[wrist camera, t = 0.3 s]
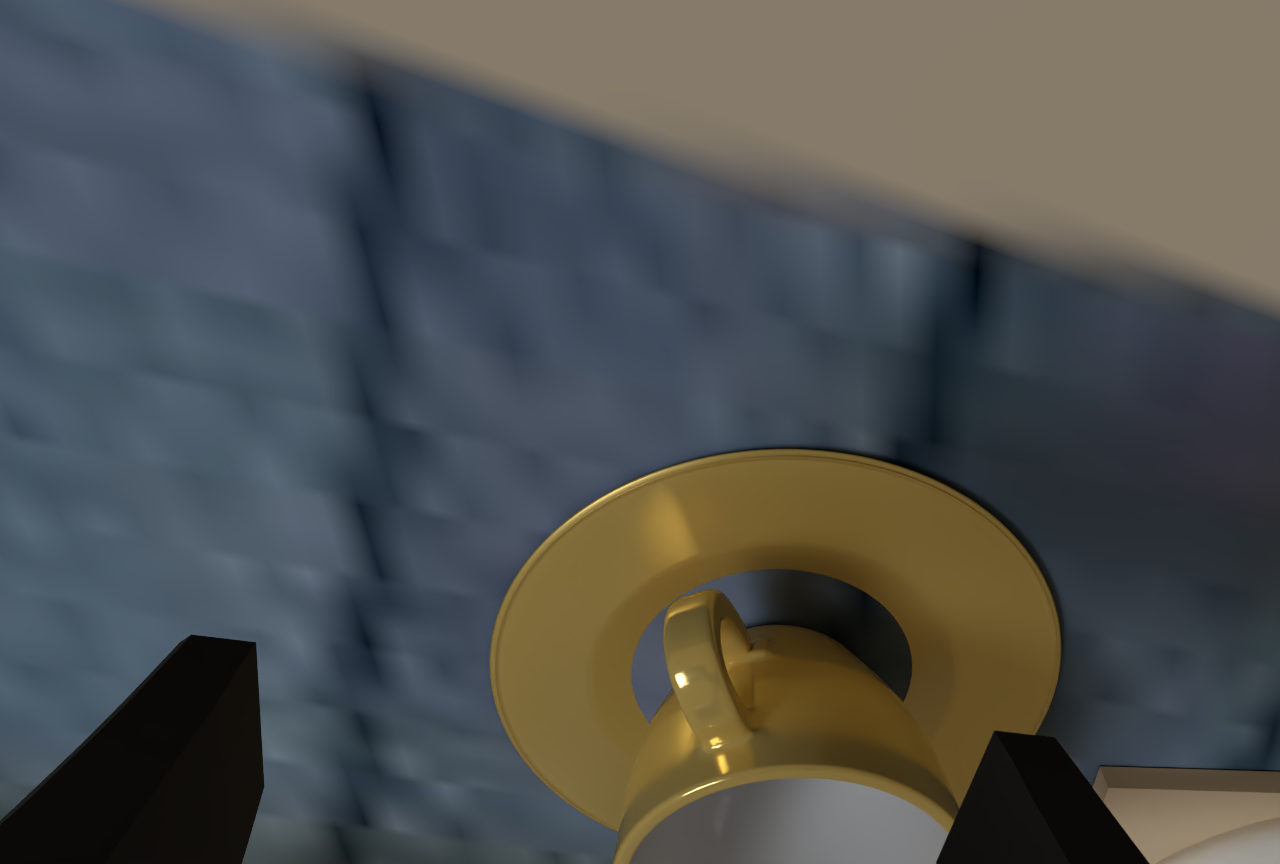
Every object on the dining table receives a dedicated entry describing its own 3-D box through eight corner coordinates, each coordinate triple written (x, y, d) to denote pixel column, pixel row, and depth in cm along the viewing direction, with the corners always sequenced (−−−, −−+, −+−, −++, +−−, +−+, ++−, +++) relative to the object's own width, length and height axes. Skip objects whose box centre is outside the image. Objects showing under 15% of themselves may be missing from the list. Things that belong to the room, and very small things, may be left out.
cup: (1106, 773, 26) (1196, 1001, 22) (627, 891, 29) (618, 1114, 24) (975, 349, 20) (1061, 540, 16) (388, 549, 23) (319, 759, 19)
